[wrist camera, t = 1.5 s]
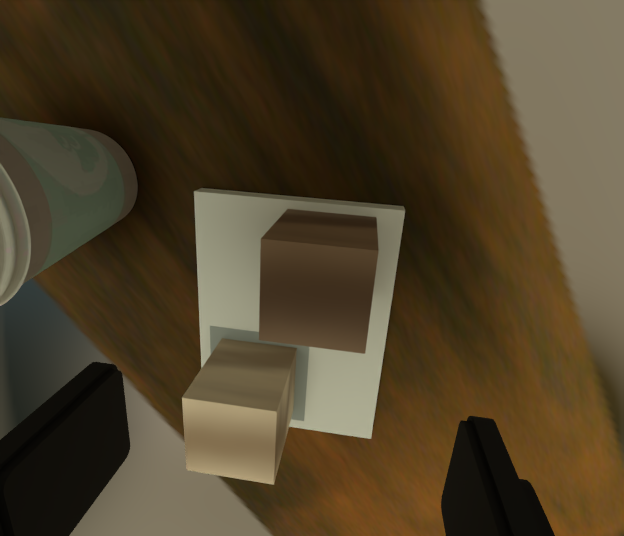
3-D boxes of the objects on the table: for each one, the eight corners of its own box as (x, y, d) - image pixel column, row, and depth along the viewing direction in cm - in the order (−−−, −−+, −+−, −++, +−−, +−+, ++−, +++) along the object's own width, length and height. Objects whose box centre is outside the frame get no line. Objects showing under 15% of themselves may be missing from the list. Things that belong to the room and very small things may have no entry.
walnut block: (287, 208, 23) (260, 238, 17) (376, 216, 22) (378, 250, 17) (284, 289, 24) (258, 340, 19) (366, 298, 24) (365, 353, 18)
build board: (202, 187, 24) (193, 191, 23) (403, 206, 23) (405, 210, 22) (209, 402, 30) (203, 414, 29) (370, 426, 29) (370, 439, 27)
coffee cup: (186, 180, 24) (29, 235, 13) (111, 269, 27) (-71, 375, 16) (74, 70, 23) (-211, 25, 12) (7, 175, 26) (-273, 221, 14)
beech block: (221, 338, 26) (182, 397, 21) (296, 348, 26) (276, 411, 20) (223, 400, 28) (186, 470, 22) (293, 410, 28) (273, 484, 22)
